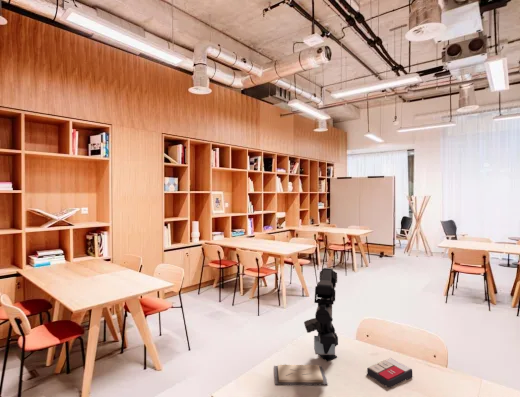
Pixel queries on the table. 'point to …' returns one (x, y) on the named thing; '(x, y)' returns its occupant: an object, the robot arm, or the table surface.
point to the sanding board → (299, 375)
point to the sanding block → (319, 347)
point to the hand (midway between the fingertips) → (324, 350)
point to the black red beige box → (389, 372)
